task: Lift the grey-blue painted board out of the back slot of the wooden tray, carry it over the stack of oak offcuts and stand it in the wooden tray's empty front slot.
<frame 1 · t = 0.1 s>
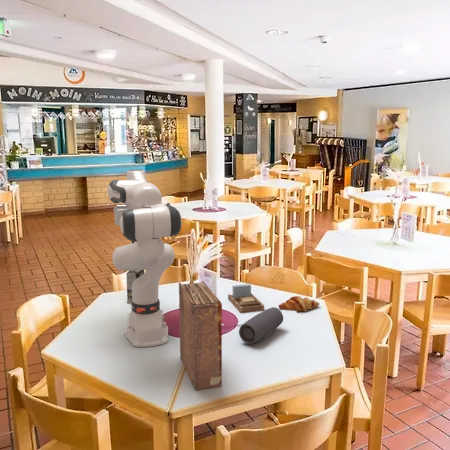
hand: (137, 233, 216), 39 cm above the table, tool pointing down, fingers open, 8 cm apart
offcut low: (247, 306, 229), point 1 cm above the table, touching offcut top, wooden tray
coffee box: (136, 301, 240), on the table
book: (199, 371, 169), on the table
offcut top: (247, 302, 229), point 3 cm above the table, touching offcut low
croissant: (299, 309, 228), on the table
wooden tray: (245, 306, 232), on the table
blue-grey square slab: (241, 300, 237), point 1 cm above the table, touching wooden tray
bluetooth speaker: (261, 337, 197), on the table
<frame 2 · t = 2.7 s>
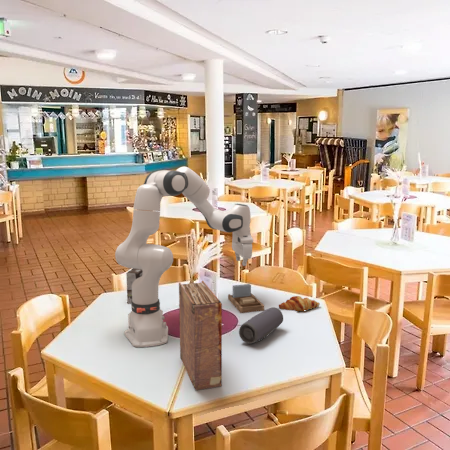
hand: (241, 263, 234), 21 cm above the table, tool pointing down, fingers open, 8 cm apart
nothing on the table moved.
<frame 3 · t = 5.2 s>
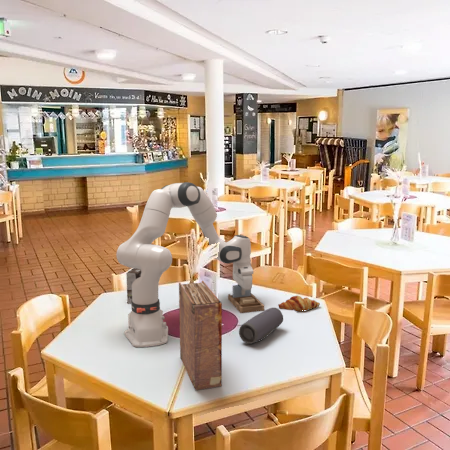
hand: (241, 293, 236), 5 cm above the table, tool pointing down, fingers closed on blue-grey square slab, 2 cm apart
blue-grey square slab: (241, 300, 237), point 1 cm above the table, touching gripper, wooden tray
everything else where it was.
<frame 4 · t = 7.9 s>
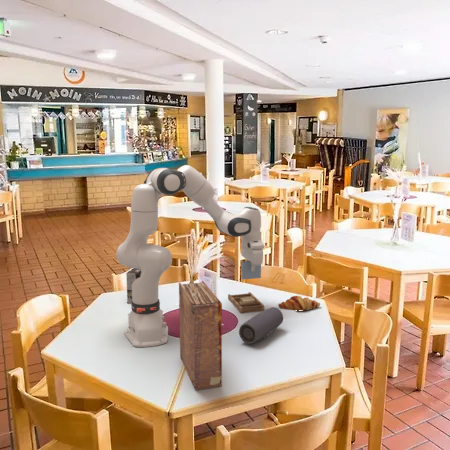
hand: (250, 269, 221), 21 cm above the table, tool pointing down, fingers closed on blue-grey square slab, 2 cm apart
blue-grey square slab: (251, 278, 221), point 17 cm above the table, touching gripper
everything else where it was.
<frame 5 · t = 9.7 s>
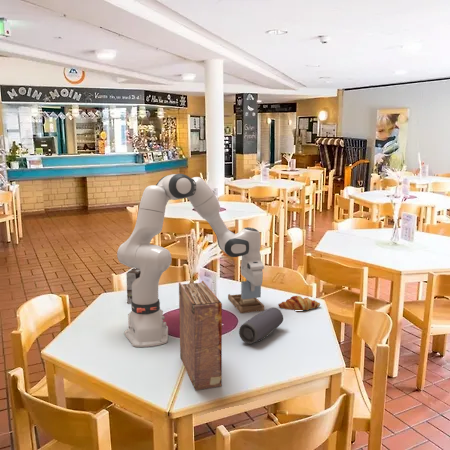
hand: (250, 289, 223), 11 cm above the table, tool pointing down, fingers closed on blue-grey square slab, 2 cm apart
blue-grey square slab: (250, 297, 223), point 7 cm above the table, touching gripper
everything else where it was.
when the fingers open (6 cm above the table, at t = 11.0 s): blue-grey square slab stays where it is, resting on wooden tray.
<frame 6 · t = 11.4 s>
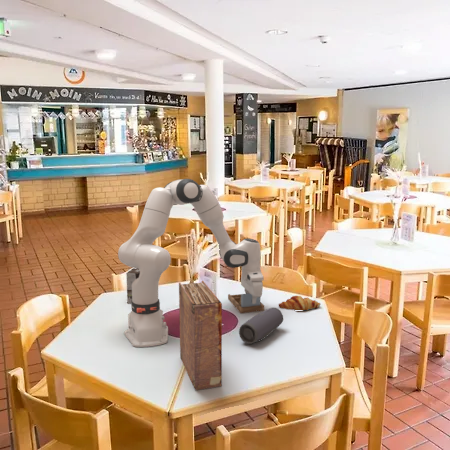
hand: (250, 300, 223), 6 cm above the table, tool pointing down, fingers open, 7 cm apart
blue-grey square slab: (250, 309, 224), point 1 cm above the table, touching wooden tray
everything else where it was.
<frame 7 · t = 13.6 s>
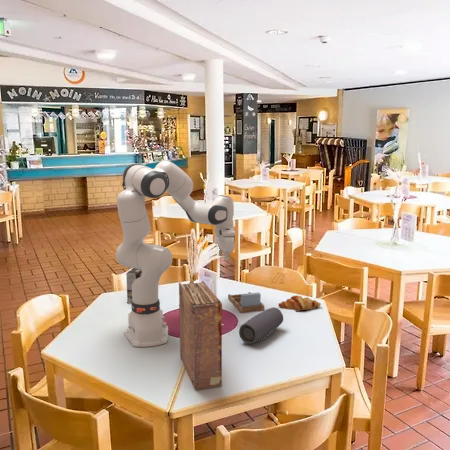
hand: (223, 258, 222), 26 cm above the table, tool pointing down, fingers open, 8 cm apart
nothing on the table moved.
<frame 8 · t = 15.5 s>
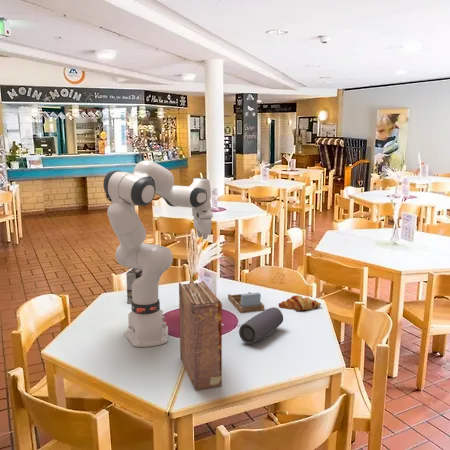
hand: (201, 240, 223), 34 cm above the table, tool pointing down, fingers open, 8 cm apart
nothing on the table moved.
at the end: blue-grey square slab 0.0 cm from the target spot on the wooden tray, point 1.0 cm above the wooden tray's base; blue-grey square slab tilted 0°; the gripper is holding nothing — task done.
